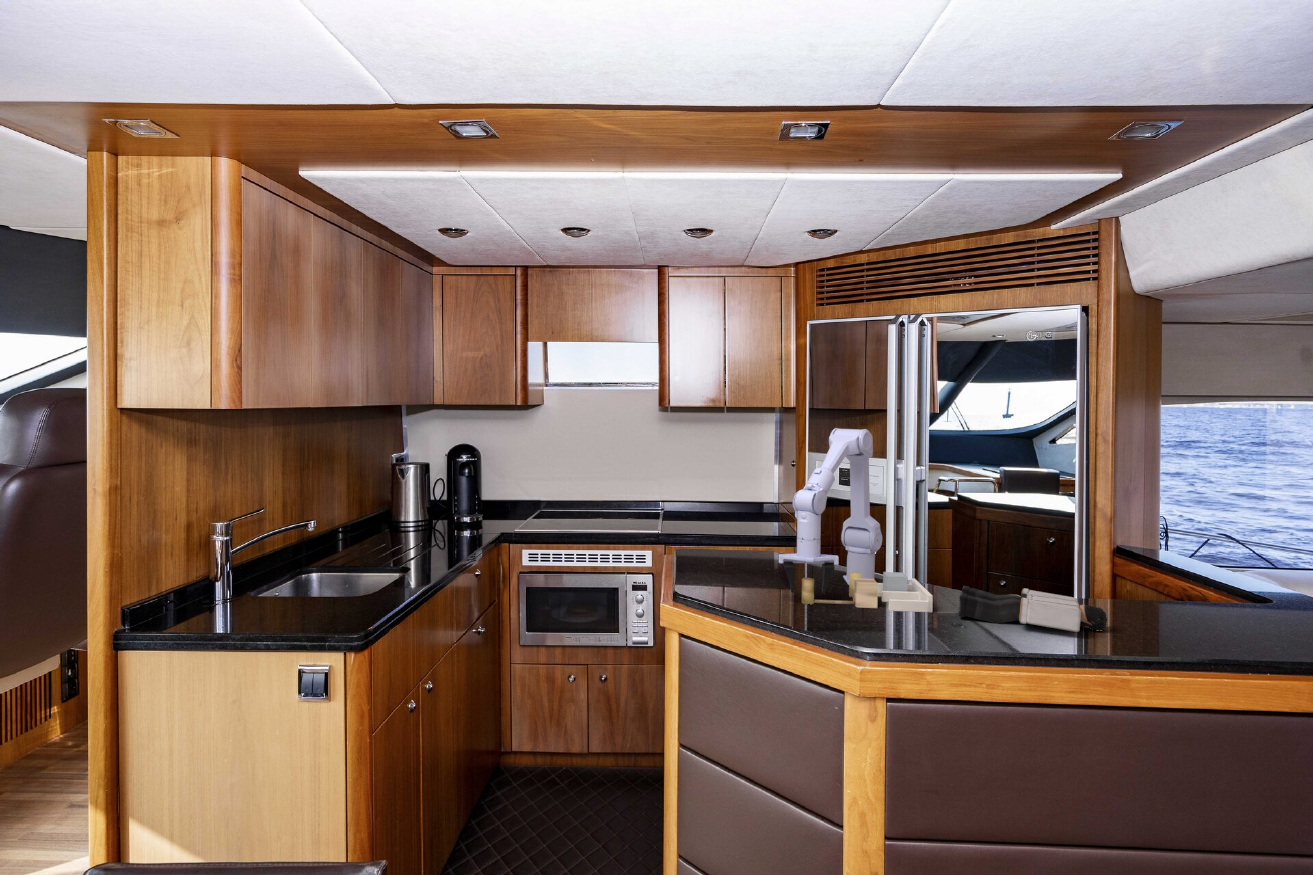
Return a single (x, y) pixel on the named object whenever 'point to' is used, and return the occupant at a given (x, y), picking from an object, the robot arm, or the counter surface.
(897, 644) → the counter surface
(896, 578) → the grey handled block
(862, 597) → the beige long piece
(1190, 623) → the counter surface
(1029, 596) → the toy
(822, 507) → the robot arm
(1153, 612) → the counter surface
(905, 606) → the rack
